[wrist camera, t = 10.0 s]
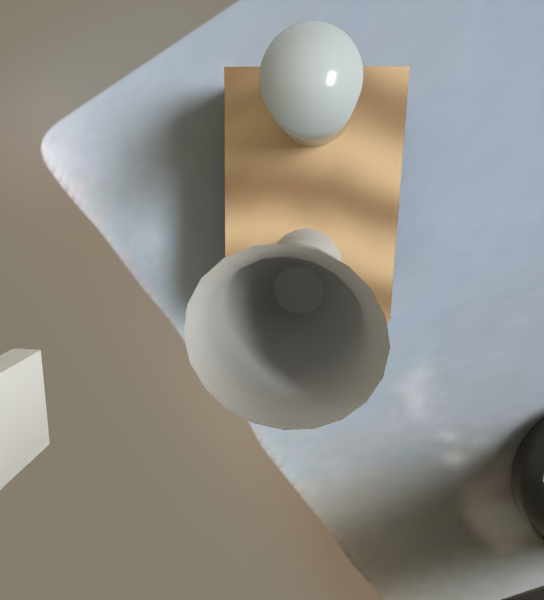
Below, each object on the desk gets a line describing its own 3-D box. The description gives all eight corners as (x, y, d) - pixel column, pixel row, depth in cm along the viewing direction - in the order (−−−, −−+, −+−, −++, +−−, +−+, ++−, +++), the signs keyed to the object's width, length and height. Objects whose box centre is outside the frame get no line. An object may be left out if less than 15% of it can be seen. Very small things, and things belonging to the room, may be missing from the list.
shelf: (380, 302, 41) (389, 322, 35) (238, 296, 42) (225, 314, 36) (395, 85, 37) (409, 66, 31) (239, 85, 38) (224, 66, 32)
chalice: (242, 290, 35) (161, 388, 18) (273, 200, 34) (216, 212, 16) (337, 324, 35) (347, 458, 18) (372, 236, 33) (422, 287, 16)
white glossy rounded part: (350, 147, 32) (360, 133, 24) (275, 146, 33) (258, 132, 24) (354, 66, 31) (366, 19, 22) (277, 66, 32) (259, 21, 23)
